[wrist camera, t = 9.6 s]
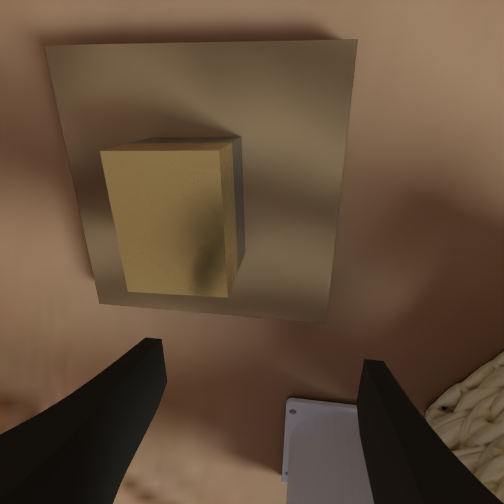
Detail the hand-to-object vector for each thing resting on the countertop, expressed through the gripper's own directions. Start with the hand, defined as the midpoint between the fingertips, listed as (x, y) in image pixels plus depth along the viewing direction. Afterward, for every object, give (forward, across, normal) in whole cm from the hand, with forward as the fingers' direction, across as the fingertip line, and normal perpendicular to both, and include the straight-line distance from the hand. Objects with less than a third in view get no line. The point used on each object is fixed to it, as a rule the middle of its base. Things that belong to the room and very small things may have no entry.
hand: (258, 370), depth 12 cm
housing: (+7, +4, -4) cm, 9 cm away
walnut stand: (+9, +4, -4) cm, 11 cm away
